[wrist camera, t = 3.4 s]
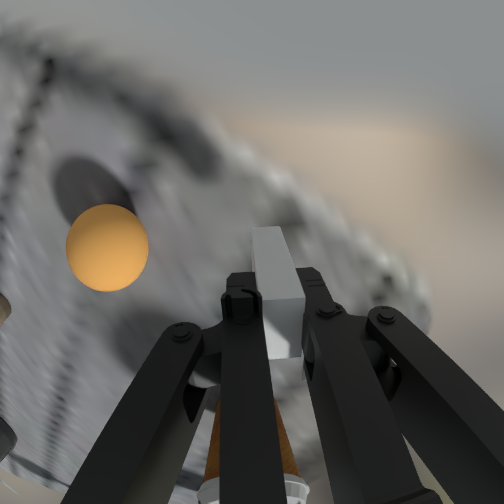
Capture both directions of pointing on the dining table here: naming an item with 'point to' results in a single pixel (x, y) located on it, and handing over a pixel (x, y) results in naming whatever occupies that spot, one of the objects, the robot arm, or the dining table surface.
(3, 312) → the post
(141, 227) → the ball
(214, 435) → the disposable coffee cup
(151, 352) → the robot arm
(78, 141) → the dining table surface
